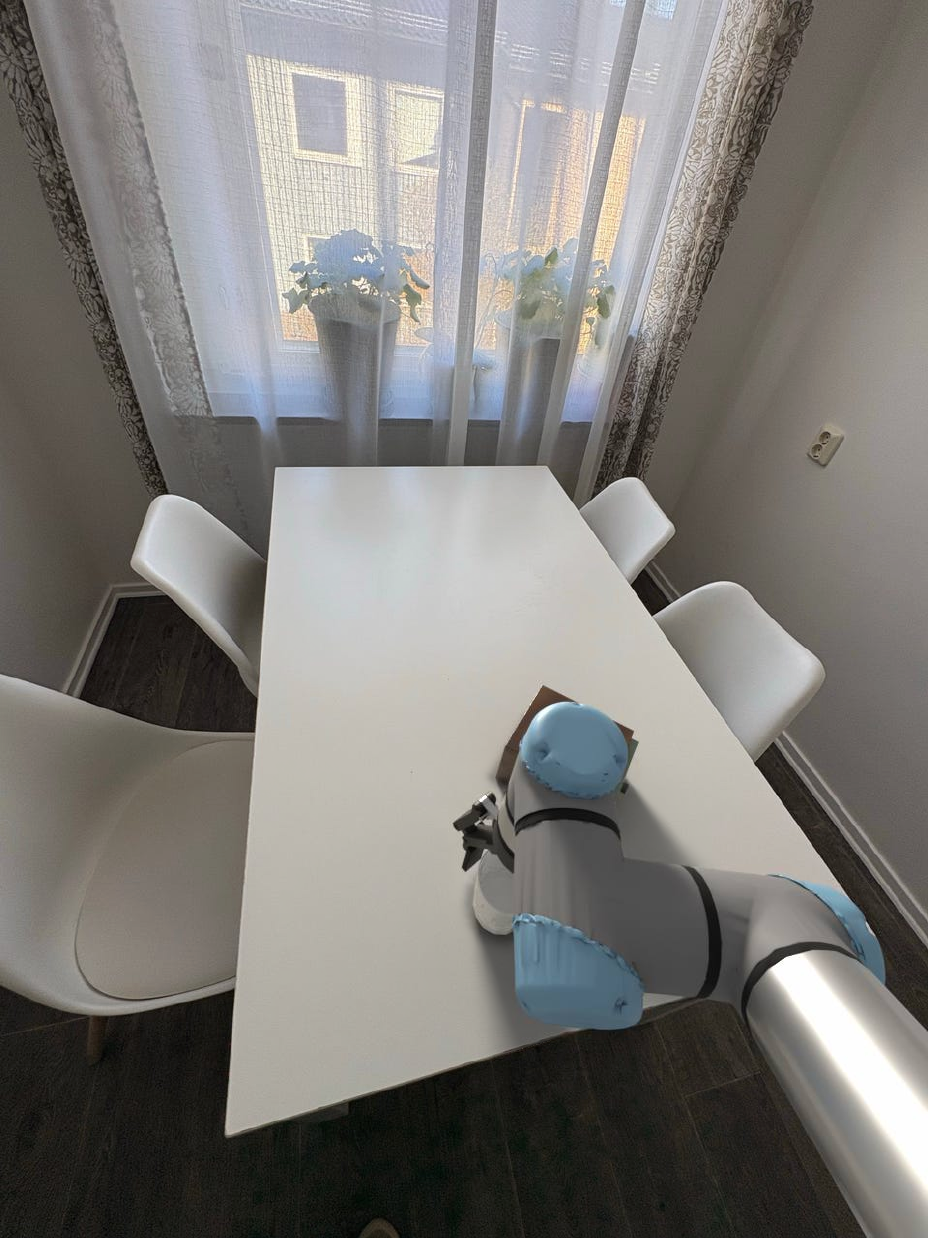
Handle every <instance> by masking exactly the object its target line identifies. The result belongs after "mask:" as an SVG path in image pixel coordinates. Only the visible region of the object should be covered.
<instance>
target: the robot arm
mask: <svg viewBox="0 0 928 1238" xmlns="http://www.w3.org/2000/svg"><path fill="white" fill-rule="evenodd" d="M576 702H577V701H576ZM576 702H560V703H556V704H552V705H550V706H548V707H546V708H544V709H543V710H541V711H540V712H539V713H538V714H537V715H536V716H535V717H534V719H533V720H532V722H531V724H530V726H529V728H528V730H527V732H526V734H525V735H524V736H523V739H522V740H521V741H520V745H519V747H520V751H519V754H518V757H517V760H516V763H515V766H514V769H513V772H512V775H511V778H510V781H509V784H508V785H507V788H506V790H505V793H504V796H503V798H502V801H501V803H500V806H498V805H497V796H496V795H495V794H494V792H493V791H491V790H490V791H488V792H486V793H485V794H484V795H482V796H481V797H480V798H479V799H478V800H476V801H475V802H474V803H472V805H471V808H470V809H468V810H466V812H465V813H463V814H462V815H461V816H459V817H458V818H457V819H456V820H454V821H453V822H452V827H453V828H454V829H455V830H456V831H457V832H461V833H462V837H461V839H462V849H463V850H464V851H465V852H464V858H463V860H462V865H461V869H462V870H463V871H464V873H467V872H468V871H469V870H470V869H471V868H472V867H473V866H474V865H476V864H477V863H479V862H480V861H481V859H482V857H483V855H484V851H485V850H487V851H488V850H490V852H491V854H494V855H497V856H498V858H499V860H500V861H501V863H502V864H503V865H504V866H505V867H506V868H507V869H508V870H509V871H510V872H511V873H513V874H514V901H513V918H512V926H511V931H512V933H513V953H514V955H513V956H514V957H513V958H514V985H515V986H514V987H515V990H514V991H515V995H516V996H515V997H516V999H517V1002H518V1004H519V1006H520V1007H521V1009H522V1010H523V1011H524V1012H525V1013H526V1014H527V1015H528V1016H530V1017H531V1018H533V1019H534V1020H536V1021H538V1022H542V1023H545V1024H549V1025H553V1026H558V1027H563V1028H564V1027H565V1028H571V1029H581V1030H582V1029H594V1030H601V1031H602V1030H603V1031H609V1030H610V1031H612V1030H622V1029H623V1030H624V1029H628V1028H631V1027H634V1026H635V1025H637V1024H638V1023H639V1022H640V1020H641V1019H642V1016H643V1013H644V1012H643V1011H644V1009H643V1008H644V1007H643V1006H644V994H652V995H653V994H654V995H663V996H664V995H666V996H674V997H675V996H676V997H681V998H691V999H699V1000H700V999H701V1000H708V1001H715V1002H721V1003H727V1004H730V1005H731V1006H733V1007H734V1008H735V1010H736V1012H737V1014H738V1015H739V1017H740V1019H741V1020H742V1023H743V1024H744V1026H745V1027H746V1029H747V1031H748V1033H749V1034H750V1037H751V1039H753V1041H754V1042H755V1044H756V1045H757V1047H758V1049H759V1051H760V1053H761V1054H762V1056H763V1058H764V1059H765V1061H766V1063H767V1065H768V1067H769V1069H770V1070H771V1072H772V1073H773V1075H774V1077H775V1079H776V1081H777V1083H778V1084H779V1086H780V1088H781V1089H782V1091H783V1093H784V1095H785V1096H786V1098H787V1100H788V1102H789V1104H790V1105H791V1107H792V1109H793V1110H794V1112H795V1114H796V1116H797V1118H798V1119H799V1121H800V1123H801V1125H802V1126H803V1128H804V1130H805V1131H806V1134H807V1135H808V1137H809V1139H810V1141H811V1142H812V1143H813V1146H814V1147H815V1149H816V1151H817V1152H818V1155H819V1156H820V1157H821V1159H822V1162H823V1163H824V1165H825V1166H826V1168H827V1170H828V1172H829V1173H830V1175H831V1177H832V1179H833V1181H834V1182H835V1184H836V1186H837V1188H838V1189H839V1191H840V1193H841V1194H842V1197H843V1198H844V1200H845V1201H846V1203H847V1205H848V1207H849V1209H850V1210H851V1212H852V1214H853V1216H854V1217H855V1219H856V1221H857V1223H858V1225H859V1226H860V1228H861V1230H862V1231H863V1233H864V1235H865V1237H866V1238H928V1030H927V1029H926V1028H925V1027H924V1026H923V1025H922V1024H921V1022H919V1021H918V1020H917V1019H916V1018H915V1016H914V1015H913V1014H912V1013H911V1012H910V1011H909V1010H908V1009H907V1007H905V1006H904V1005H903V1004H902V1003H901V1002H900V1000H899V999H897V997H896V996H895V995H894V994H893V993H892V992H891V991H890V990H889V989H888V988H887V986H886V967H885V966H886V965H885V960H884V955H883V952H882V951H883V950H882V947H881V945H880V943H879V940H878V938H877V937H876V936H875V935H874V934H872V933H871V932H870V930H869V928H868V926H867V918H866V916H865V915H864V913H863V912H862V911H861V909H860V908H859V907H858V906H857V905H856V904H855V903H854V902H853V901H852V900H851V899H850V898H848V897H847V896H846V895H844V894H843V893H842V892H840V891H838V890H837V889H834V888H832V887H830V886H826V885H823V884H818V883H813V882H808V881H804V880H799V879H797V878H792V877H788V876H786V875H784V874H772V873H771V874H770V873H769V874H757V873H751V872H741V871H733V870H726V869H725V870H724V869H718V868H709V867H700V866H693V865H683V864H675V863H669V862H668V863H667V862H660V861H652V860H645V859H637V858H631V857H628V856H627V857H626V856H625V855H624V850H623V845H622V839H621V831H620V826H619V820H618V812H617V805H616V803H615V789H617V786H618V785H619V784H620V783H621V781H622V776H623V774H624V771H625V768H626V765H627V761H628V748H627V743H626V740H625V738H624V736H623V734H622V732H621V730H620V729H619V728H618V726H617V725H616V724H615V723H614V722H613V721H614V720H613V719H612V718H610V717H609V716H608V715H607V714H606V713H604V712H603V711H601V710H599V709H598V708H595V707H594V706H591V705H588V704H586V703H581V702H578V703H576ZM485 820H487V821H490V820H491V821H492V822H491V825H489V824H485V822H484V821H485ZM476 823H477V824H476Z"/></svg>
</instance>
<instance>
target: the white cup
mask: <svg viewBox="0 0 928 1238" xmlns="http://www.w3.org/2000/svg"><path fill="white" fill-rule="evenodd" d="M478 863H479V864H478V866H477V871H476V877H475V881H474V888H473V898H472V908H473V912H474V917H475V919H476V920H477V921H478V923H479V924H480V925H481V927H482V928H483V929H484V930H486V931H487V932H489V933H491V934H493V935H505V936H507V935H508V934H511V933H513V931H511V926H512V918H513V901H514V874H513V873H511V872H510V871H509V870H508V869H507V868H506V867H505V866H504V865H503V864H502V863H501V861H500V860H499V858H498V856H497V855H494V854H491V852H490V850H488V849H487V850H486V852H485V853H483V854H482V857H481V859H480V860H479V862H478Z"/></svg>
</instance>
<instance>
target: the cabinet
mask: <svg viewBox="0 0 928 1238" xmlns="http://www.w3.org/2000/svg"><path fill="white" fill-rule="evenodd" d="M560 702H576V703H579V702H578V701H576V700H574V699H572V698H569V697H568V696H566V695H563V694H562V693H561V692H557V691H556V690H554V689H552V688H550V687H548V686H546V685H544V684H542V685H541V686H540V688H539V689H538V691H537V693H535V696H534V698H533V699H532V701H531V702H530V704H529V706H528V707H527V709H526V711H525V712H524V714H523V715H522V718H521V719H520V720H519V722H518V724H517V725H516V727H515V729H514V731H513V732H512V733H511V735H510V737H509V738H508V740H507V742H506V743H505V744H504V748H503V752H502V753H501V754H502V755H501V757H500V761H499V764H498V768H497V771H496V773H495V774H496V775H495V779H496V780H497V781H499V782H501V783H503V784H504V785H506V786H508V784H509V781H510V778H511V775H512V772H513V769H514V766H515V763H516V760H517V757H518V754H519V751H520V747H519V745H520V741H521V740H522V739H523V736H524V735H525V734H526V732H527V730H528V728H529V726H530V724H531V722H532V720H533V719H534V717H535V716H536V715H537V714H538V713H539V712H540V711H541V710H543V709H544V708H546V707H548V706H550V705H552V704H556V703H560ZM613 722H614V723H615V724H616V725H617V726H618V728H619V729H620V730H621V732H622V734H623V736H624V738H625V740H626V743H627V748H628V746H629V744H630V741H631V739H632V738H633V735H634V733H635V730H633V729H631V728H629V727H627V726H625V725H623V724H621V723H619V722H618V721H615V720H613Z"/></svg>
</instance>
